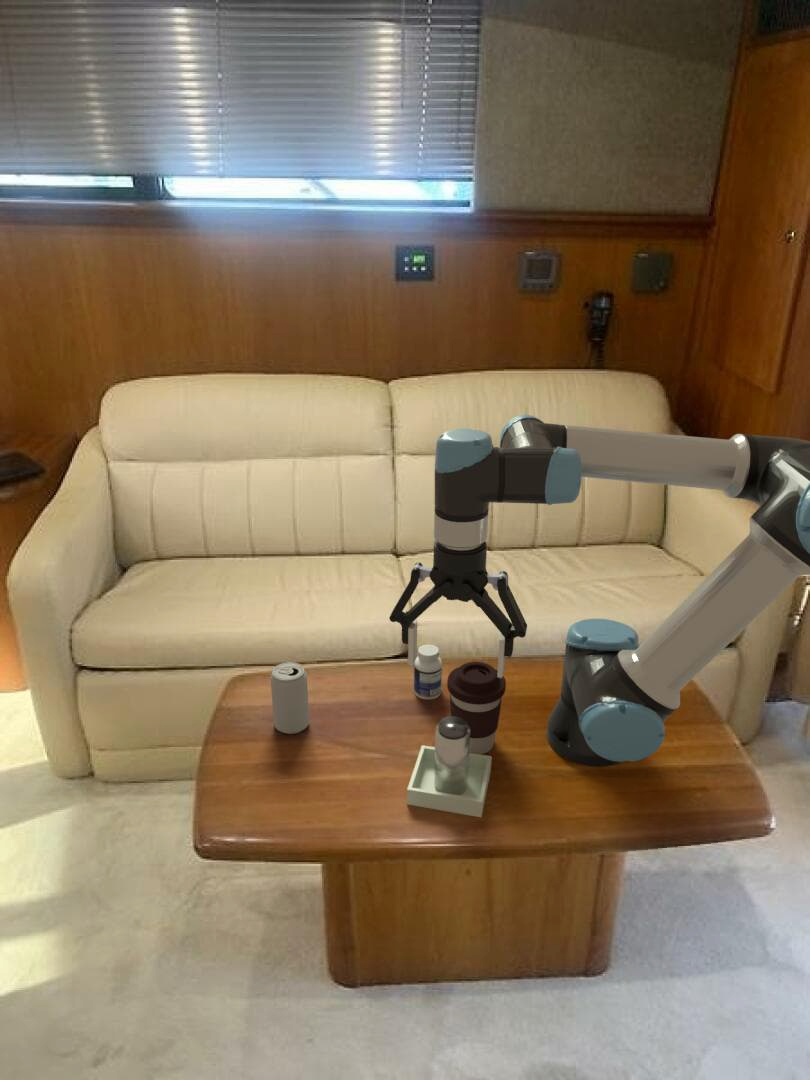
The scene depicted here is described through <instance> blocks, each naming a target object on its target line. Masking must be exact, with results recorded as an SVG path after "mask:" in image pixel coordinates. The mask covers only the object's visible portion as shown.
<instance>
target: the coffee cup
mask: <svg viewBox="0 0 810 1080" xmlns="http://www.w3.org/2000/svg"><path fill="white" fill-rule="evenodd" d="M497 673H498V669H496V668H495V667H493V666H492V665H491V664H488V663H486V662H480V661H470V662H466V663H463V664H462V665H460V666H458V667H456V668H454V669H453V670H451V671H450V673H449V674H448V675H447V682H446V683H447V690H448V692H449V707H450V710H449V711H450V716H456V717H460V718H462V719H464V720H465V721H466V722H467V724H468V726H469V728H470V748H469V753H474V754H480V755H486V753H488V752H490V751H491V750H492V749H493V747H494V745H495V740H496V739H495V737H496V732H497V729H498V727H499V721H500V714H501V708H502V707H501V706H502V697H503V696H504V695H505V693H506V684H507V681H506V678H505V676H504V675H503V677H502V678H499V677H497Z"/></svg>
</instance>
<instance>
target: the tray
mask: <svg viewBox="0 0 810 1080" xmlns="http://www.w3.org/2000/svg"><path fill="white" fill-rule="evenodd" d="M492 759H493V757H492V756H491V755H486V754H481V755H480V754H474V753H469V767H468V786H467V789H466V791H465V792H464V793H463V794H461V795H453V794H447V793H441V792H438V791H437V790H436V789H435V787H434V768H435V746H429V745H428V746H427V745H423V744H422V745H421V746H420V749H419V752H418V756H417V759H416V762H415V765H414V768H413V770H412V773H411V776H410V780H409V783H408V786H407V788H406V791H407V792H406V805H408V806H415V807H419V808H426V809H432V810H437V811H443V812H448V813H454V814H460V815H464V816H471V817H478V818H482V816H483V814H484V807H485V802H486V798H487V793H488V788H489V787H488V786H489V782H490V777H491V774H492V773H491V771H492Z"/></svg>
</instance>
